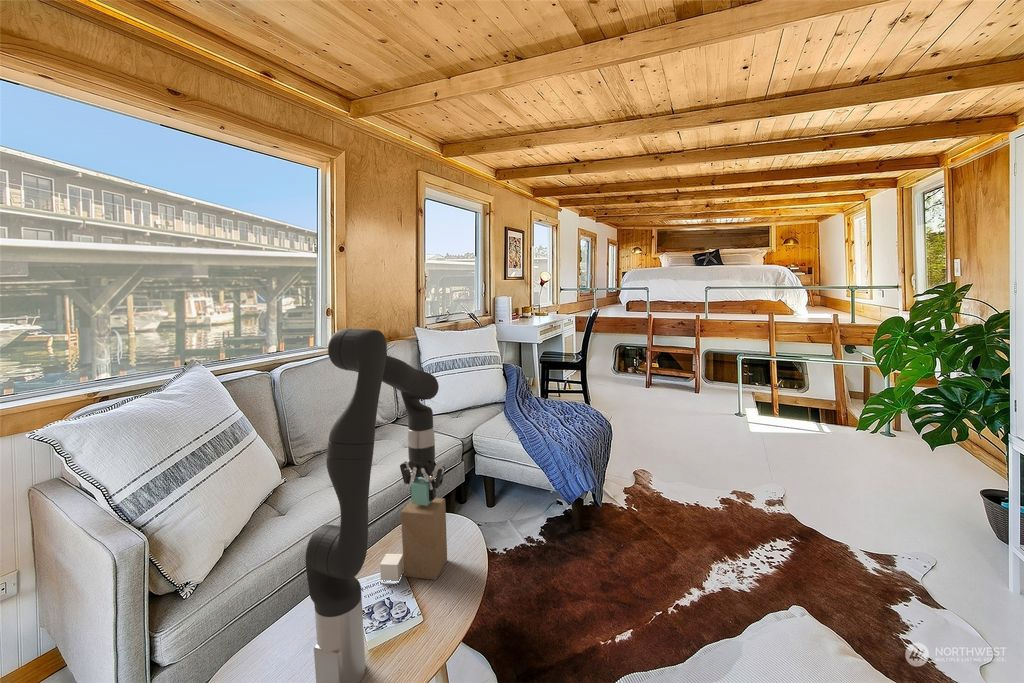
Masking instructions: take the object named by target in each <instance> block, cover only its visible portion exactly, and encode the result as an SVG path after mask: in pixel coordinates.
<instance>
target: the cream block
mask: <svg viewBox="0 0 1024 683" xmlns="http://www.w3.org/2000/svg"><path fill="white" fill-rule="evenodd" d="M379 570H380V573H379V574H380V581H381V580H391V581H399V579H400V577H401V575H402V574H403V573H404V567H403V553H385V554H384V557H383V558H382V560H381V562H380V563H379ZM403 575H404V574H403Z"/></svg>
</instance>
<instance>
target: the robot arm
mask: <svg viewBox="0 0 1024 683" xmlns="http://www.w3.org/2000/svg"><path fill="white" fill-rule="evenodd" d="M387 343H388V342H387V339H386V336H385V334H384V333H383V332H382V331H380V330H378V329H368V328H367V329H364V328H343V329H340V330H337V331H336V332H334V333H333V334H332V335H331V337H330V339H329V341H328V344H327V354H328V358H329V359H330V362H331V363H332V364H333V366H335V367H337V368H338V369H340V370H344V371H349V372H350V371H352V372H356V373H357V380H356V385H355V389H354V393H353V394H352V397H351V398H350V400H349V402H348V404H347V405H346V406H345V408H344V409H343V411H341V413H340V415H339V416H338V417H337V418H336V421H335V422H334V423H333V425H332V427H331V429H330V432H329V435H328V443H327V450H326V451H327V452H326V463H325V464H326V470H327V474H328V476H329V479H330V481H331V485H332V487H333V489H334V492H335V494H336V498H337V500H338V503H339V509H340V526H339V525H333V524H324V525H322V526H319V527H318V528H317V529H316V530H315V531H314V532H313V533H312V535H311V536H310V538H309V540H308V543H307V546H306V551H305V561H304V562H305V572H306V578H307V587H308V593H309V597H310V600H311V601H312V602H313V605H314V614H315V615H314V617H315V630H316V643H317V644H316V645H315V646H314V647H313V656H314V668H315V669H314V670H315V683H360V682H361V681H362V679H363V678H364V676H365V674H366V667H367V666H366V652H365V637H364V636H365V635H364V618H363V616H364V615H363V600H362V598H363V596H362V586H361V583H360V581H359V580H358V578H356V576H357V575H358V574H359V573H360V571H361V570H362V568H363V566H364V563H365V560H366V557H367V552H368V546H369V545H368V544H369V497H370V484H371V474H372V473H371V472H372V465H373V460H374V457H373V456H374V449H375V440H376V439H375V436H376V422H377V414H378V407H379V400H380V399H379V398H380V395H381V394H380V393H381V389H382V388H381V387H382V384H383V383H385V384H386V385H388V386H390V387H391V388H393V389H396V390H397V391H399V392H400V395H401V398H402V401H403V403H404V408H405V410H406V414H407V426H408V427H407V428H408V430H407V448H408V449H407V451H408V452H407V453H408V460H409V461H404V462H402V463H401V464H399V468H400V472H401V476H402V480H403V484H404V485H409V487H410V490H409V491H411V483H412V482H415V480H416V479H418V478H419V477H422V478H425V481H426V483H427V484H428V486H429V501H431V502H432V501H433V500H434V499H435V498H437V497H436V496H437V489H439V487H440V486H442V485H443V482H444V476H445V471H446V467H445V466H444V465H441V466H439V465H437V463H436V461H435V460H436V445H435V444H436V442H435V441H436V439H435V430H434V413H433V409H432V407H430V406H427V405H425V404H422V403H421V401H420V400H427V401H428V400H431V399H432V400H433V399H434V398H435V396H437V395H438V392H439V382H438V379H437V378H436V377H435V376H434V375H433V374H431V373H429V372H427V371H423V370H419V369H416V368H414V367H413V366H412V365H410V364H408V363H407V362H405V361H404V360H401V359H398V358H396V357H393V356H390V355H387V354H388V346H387V345H388V344H387ZM434 471H435V472H434ZM431 481H432V482H431Z"/></svg>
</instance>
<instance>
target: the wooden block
mask: <svg viewBox="0 0 1024 683" xmlns="http://www.w3.org/2000/svg"><path fill="white" fill-rule="evenodd" d="M446 508H447V507H446V498H441V497H435V499H434V500H433V501H432V502H431V503H430V504H429V505H428V506H424V505H418V504H412V499H411V500H410V501H409V502H408V504H407V505H406V506H405V507H404V508H403V509H402V510H401V511H400V515H401V516H400V517H401V518H400V519H401V540H402V541H401V542H402V554H403V568H404V574H403V576H404V577H408V578H416V579H424V580H430V581H436V580H437V579H438V577H439V575H440V573H441V571H442V570H443V568H444V567H445V564H446V562H447V561H448V542H447V541H448V540H447V539H448V538H447V512H446V510H447V509H446Z"/></svg>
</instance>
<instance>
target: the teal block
mask: <svg viewBox="0 0 1024 683" xmlns="http://www.w3.org/2000/svg"><path fill="white" fill-rule="evenodd" d="M431 482H432V481H431ZM410 496H411V497H410V498H411V500H412V504H418V505H424V506H428V505H429V504H430V503H431V501H429V486H428V484H427V483H426V481H425V478H422V477H419V478H418V479H416V480H415V482H412V483H411V490H410Z"/></svg>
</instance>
